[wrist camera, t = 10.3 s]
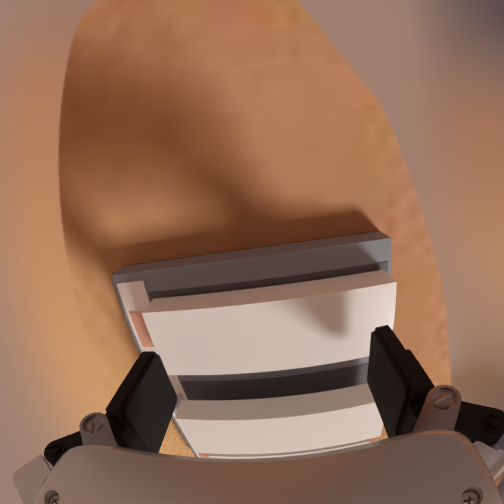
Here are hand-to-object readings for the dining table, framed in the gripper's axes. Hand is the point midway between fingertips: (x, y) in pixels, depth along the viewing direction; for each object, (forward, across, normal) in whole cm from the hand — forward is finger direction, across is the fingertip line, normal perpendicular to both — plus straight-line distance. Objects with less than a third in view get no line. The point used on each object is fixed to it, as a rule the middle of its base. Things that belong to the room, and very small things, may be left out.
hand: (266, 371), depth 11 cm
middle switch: (+2, 0, +6) cm, 6 cm away
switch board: (+5, +1, +6) cm, 8 cm away
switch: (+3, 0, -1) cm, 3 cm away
